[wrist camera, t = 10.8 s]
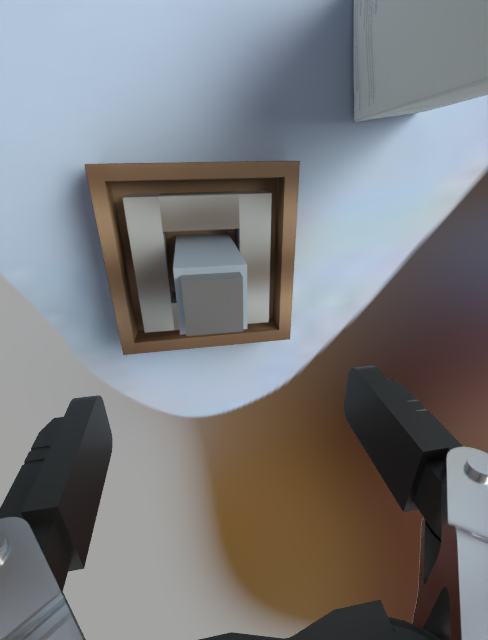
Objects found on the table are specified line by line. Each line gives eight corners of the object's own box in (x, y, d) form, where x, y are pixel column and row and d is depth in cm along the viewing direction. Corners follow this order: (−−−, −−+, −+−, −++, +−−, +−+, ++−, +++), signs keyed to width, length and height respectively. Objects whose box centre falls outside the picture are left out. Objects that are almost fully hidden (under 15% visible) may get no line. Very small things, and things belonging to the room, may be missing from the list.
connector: (176, 234, 26) (172, 274, 17) (227, 232, 26) (250, 269, 17) (181, 283, 27) (179, 343, 18) (229, 280, 28) (250, 336, 19)
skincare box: (421, 112, 25) (679, 60, 12) (346, 123, 25) (531, 82, 12) (434, -38, 22) (832, -350, 8) (347, -28, 21) (621, -341, 8)
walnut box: (95, 163, 23) (83, 164, 20) (287, 160, 25) (301, 161, 22) (128, 337, 29) (122, 356, 27) (280, 323, 31) (290, 340, 28)
